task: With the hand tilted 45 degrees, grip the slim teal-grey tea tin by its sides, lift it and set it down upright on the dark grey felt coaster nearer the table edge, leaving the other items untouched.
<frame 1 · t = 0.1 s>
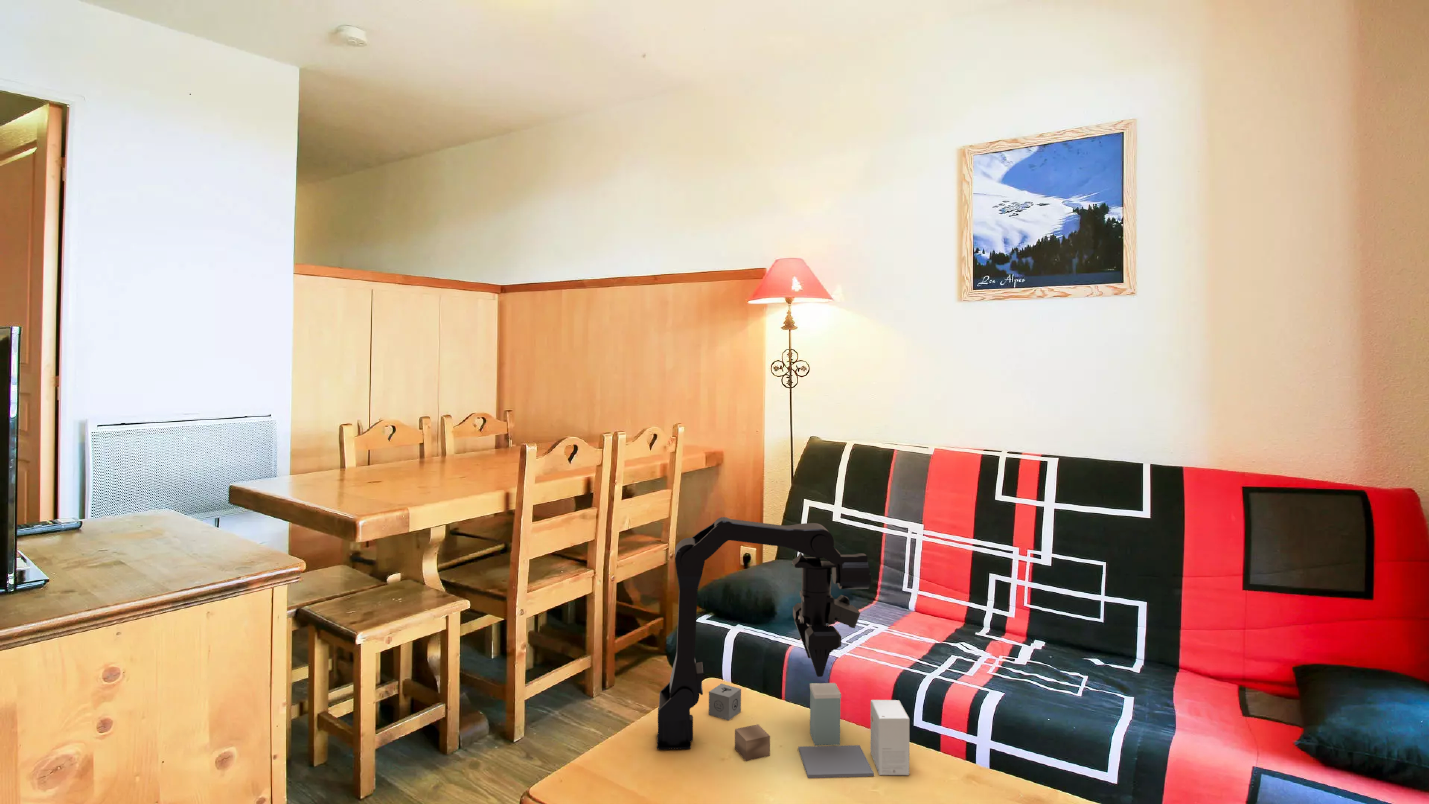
hand: (815, 666, 143), 14 cm above the table, tool pointing down, fingers open, 9 cm apart
tea tin: (824, 738, 143), on the table
small box: (889, 765, 134), on the table
walnut block: (752, 752, 138), on the table
felt coaster: (834, 762, 134), on the table
dice cube: (724, 714, 154), on the table
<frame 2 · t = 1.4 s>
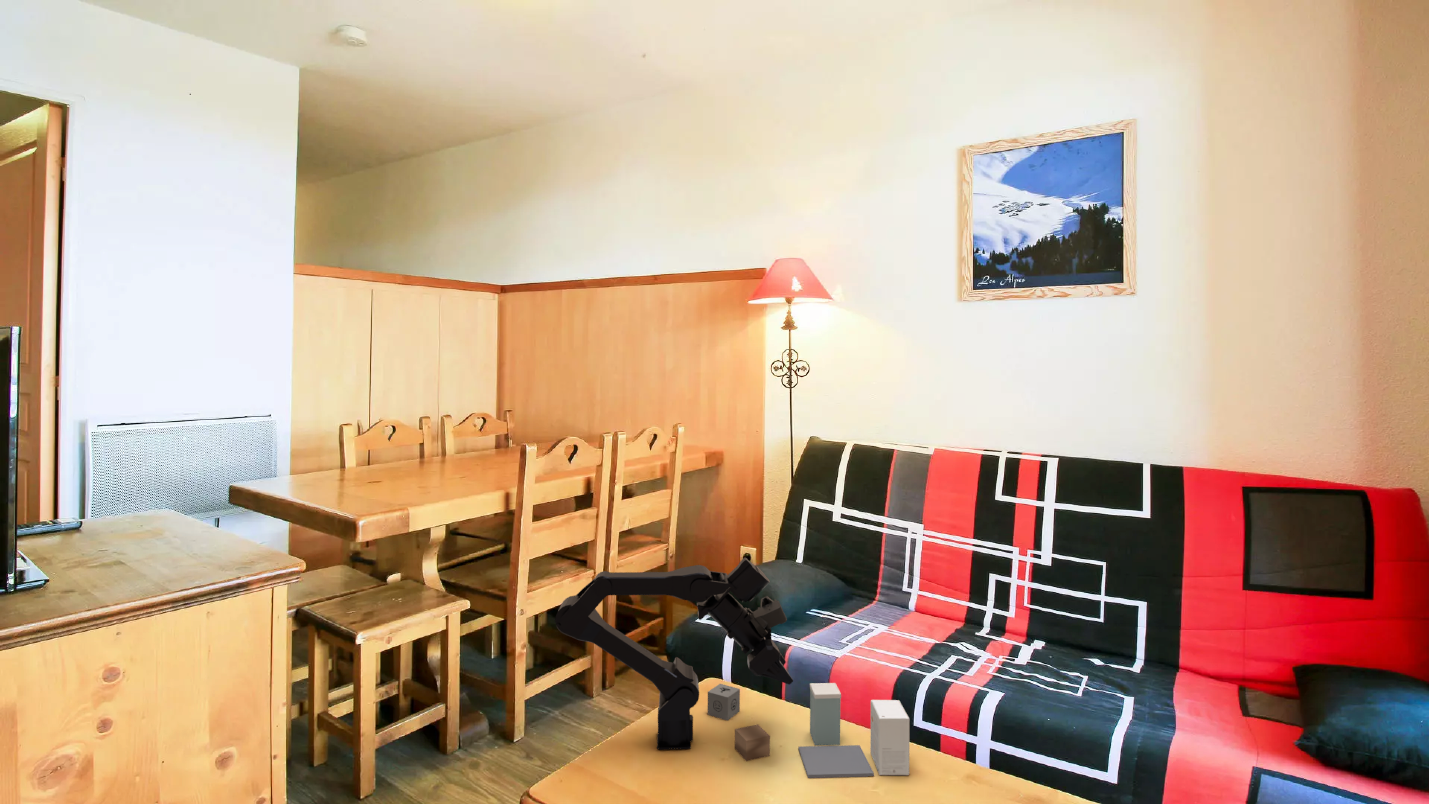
hand: (787, 672, 143), 13 cm above the table, tool tilted 45°, fingers open, 9 cm apart
nothing on the table moved.
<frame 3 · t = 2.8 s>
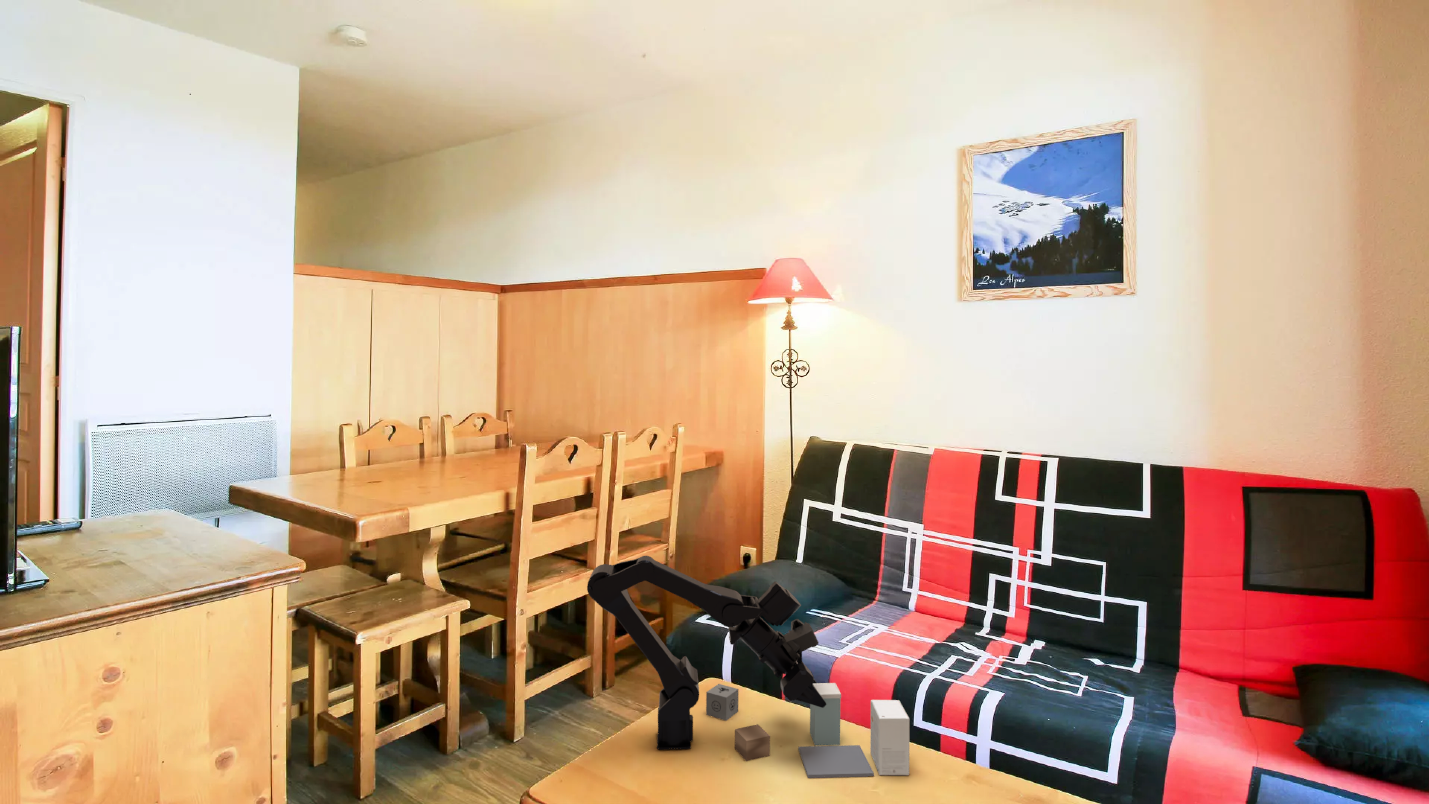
hand: (819, 695, 143), 9 cm above the table, tool tilted 45°, fingers open, 9 cm apart
nothing on the table moved.
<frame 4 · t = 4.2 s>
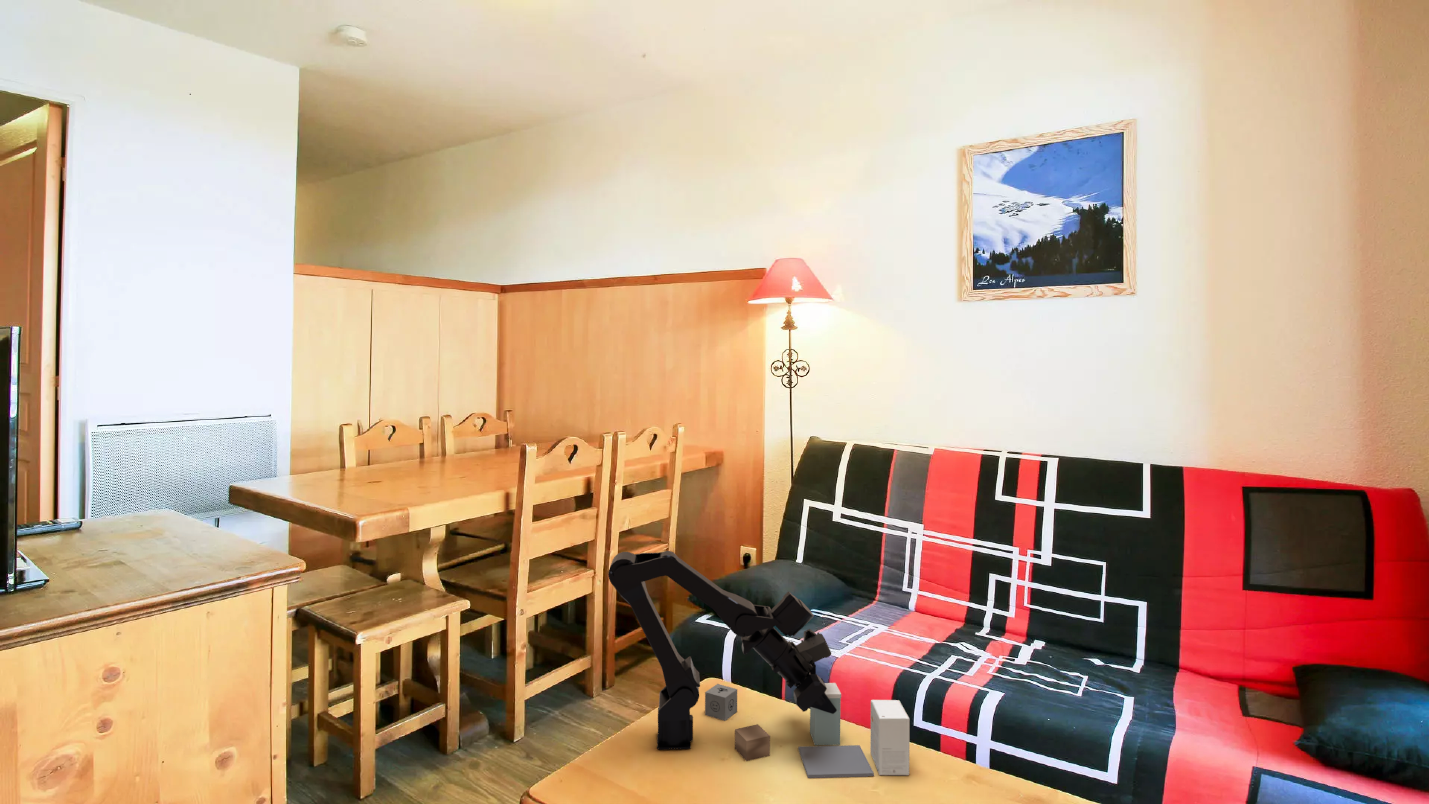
hand: (832, 705, 143), 7 cm above the table, tool tilted 45°, fingers closed on tea tin, 5 cm apart
tea tin: (824, 738, 143), on the table, touching gripper
everything else where it was.
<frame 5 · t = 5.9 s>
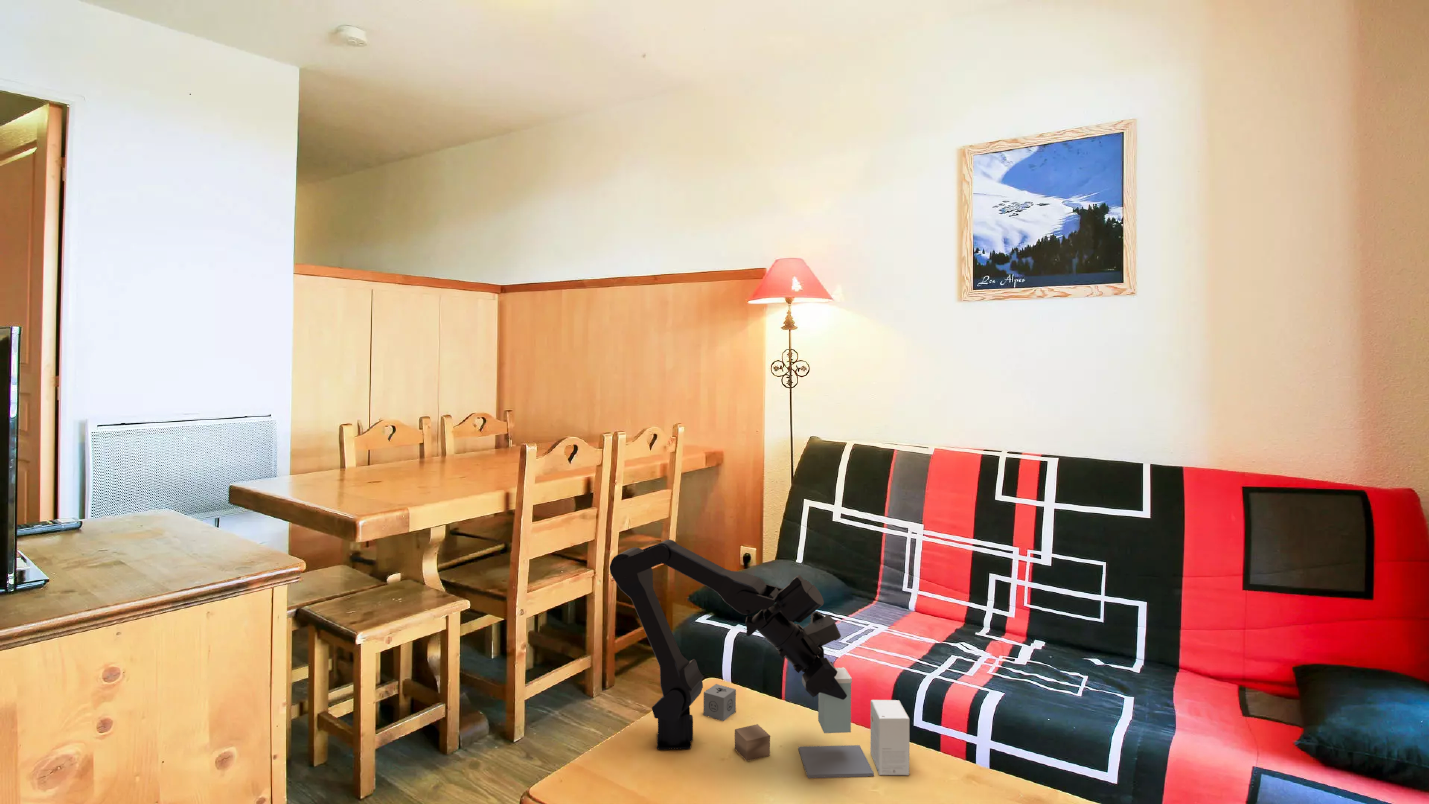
hand: (841, 691, 136), 13 cm above the table, tool tilted 45°, fingers closed on tea tin, 5 cm apart
tea tin: (834, 726, 136), point 6 cm above the table, touching gripper
when the fingers open (8 cm above the table, at t = 7.5 s): tea tin stays where it is, resting on felt coaster.
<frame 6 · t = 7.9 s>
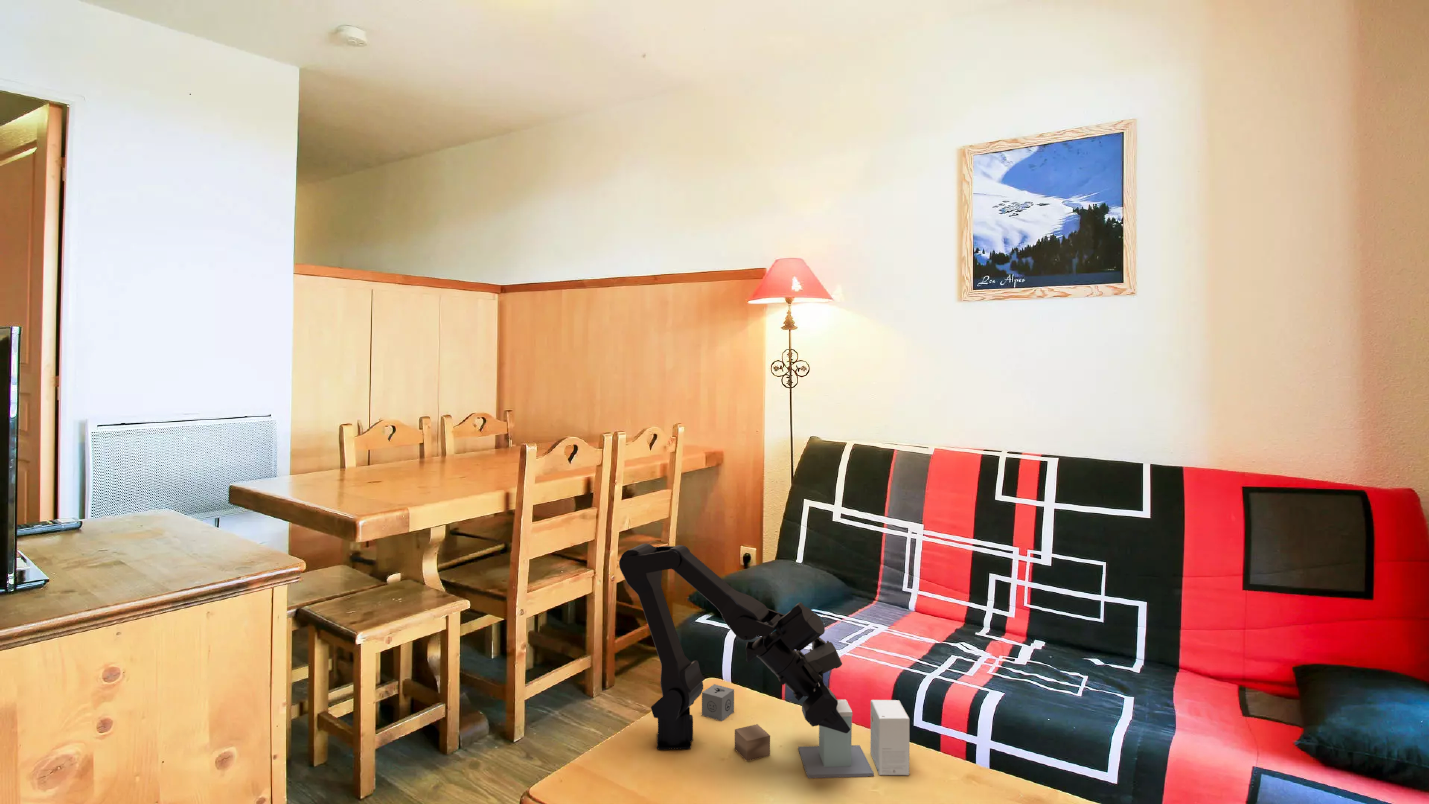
hand: (842, 719, 134), 8 cm above the table, tool tilted 45°, fingers open, 9 cm apart
tea tin: (834, 759, 134), point 1 cm above the table, touching felt coaster
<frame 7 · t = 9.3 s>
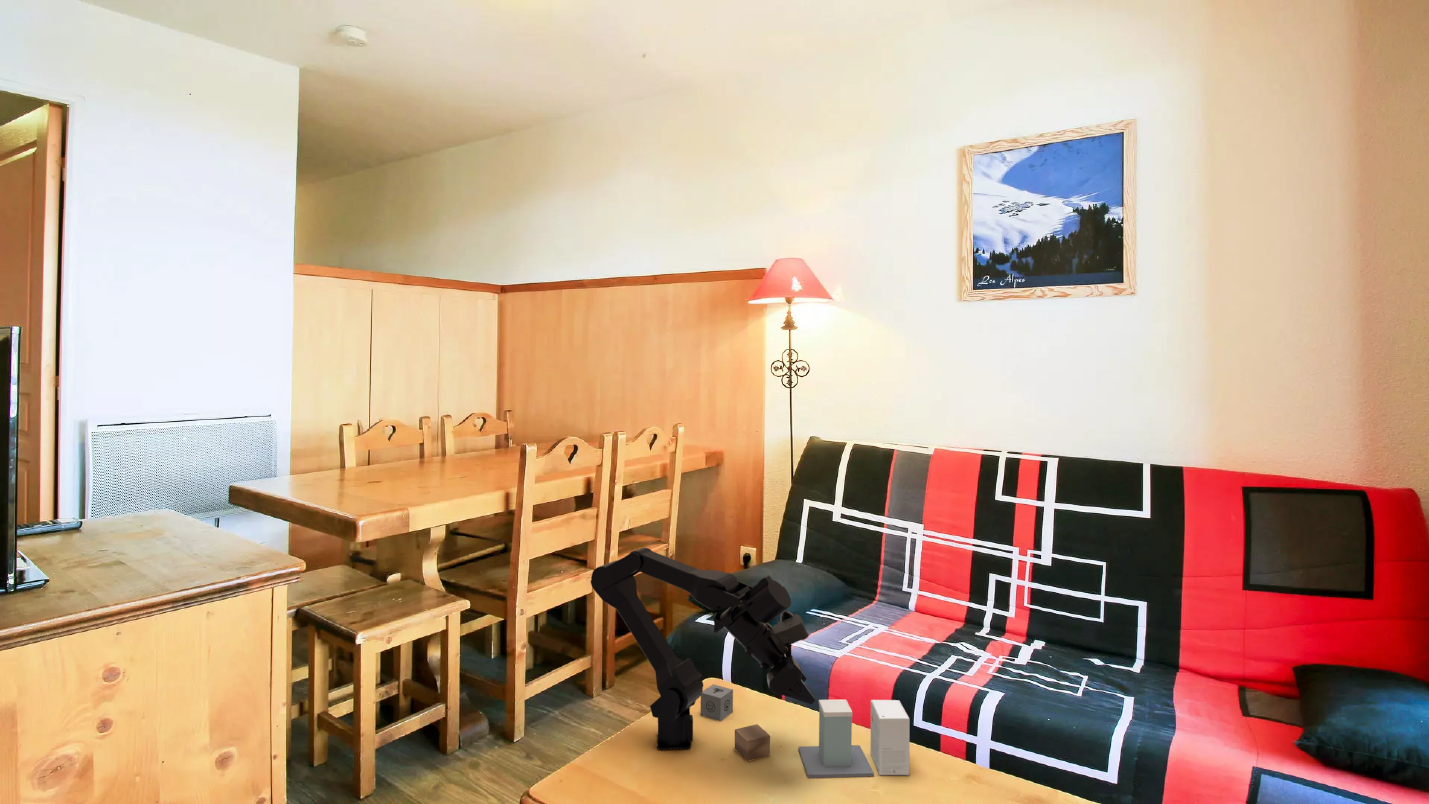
hand: (809, 691, 135), 13 cm above the table, tool tilted 45°, fingers open, 9 cm apart
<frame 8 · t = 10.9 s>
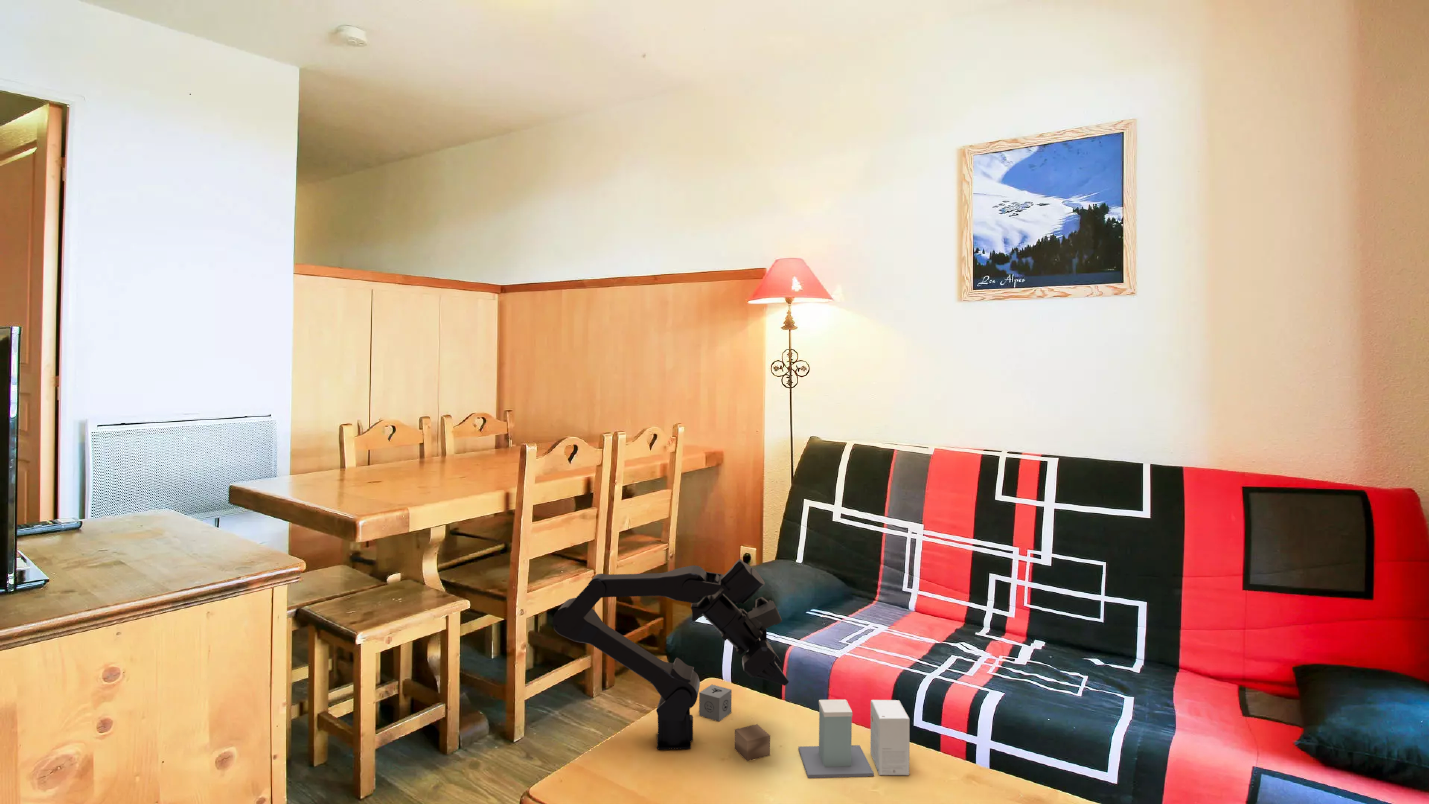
hand: (783, 673, 141), 14 cm above the table, tool tilted 45°, fingers open, 9 cm apart
at the end: tea tin inside the target area (0.0 cm from its centre), point 0.6 cm above the table; tea tin tilted 0°; the gripper is holding nothing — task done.
